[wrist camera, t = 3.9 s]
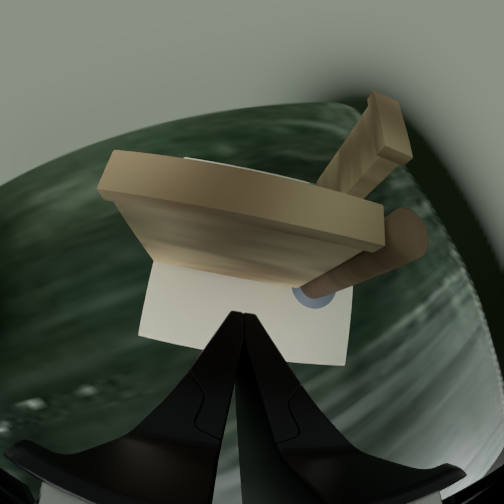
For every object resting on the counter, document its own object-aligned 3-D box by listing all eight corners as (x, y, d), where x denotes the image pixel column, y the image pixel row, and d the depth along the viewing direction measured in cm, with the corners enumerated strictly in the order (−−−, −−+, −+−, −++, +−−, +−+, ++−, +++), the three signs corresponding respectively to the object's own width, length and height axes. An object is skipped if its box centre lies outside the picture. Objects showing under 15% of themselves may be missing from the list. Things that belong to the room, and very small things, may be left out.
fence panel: (300, 268, 16) (383, 205, 8) (298, 291, 16) (384, 246, 8) (157, 241, 15) (114, 149, 7) (151, 264, 15) (96, 188, 7)
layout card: (342, 365, 16) (345, 365, 15) (139, 335, 14) (137, 335, 14) (352, 196, 19) (354, 194, 19) (184, 159, 18) (184, 156, 18)
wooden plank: (325, 300, 16) (430, 263, 8) (298, 296, 16) (390, 253, 8) (332, 189, 19) (401, 102, 10) (308, 183, 19) (369, 88, 10)
